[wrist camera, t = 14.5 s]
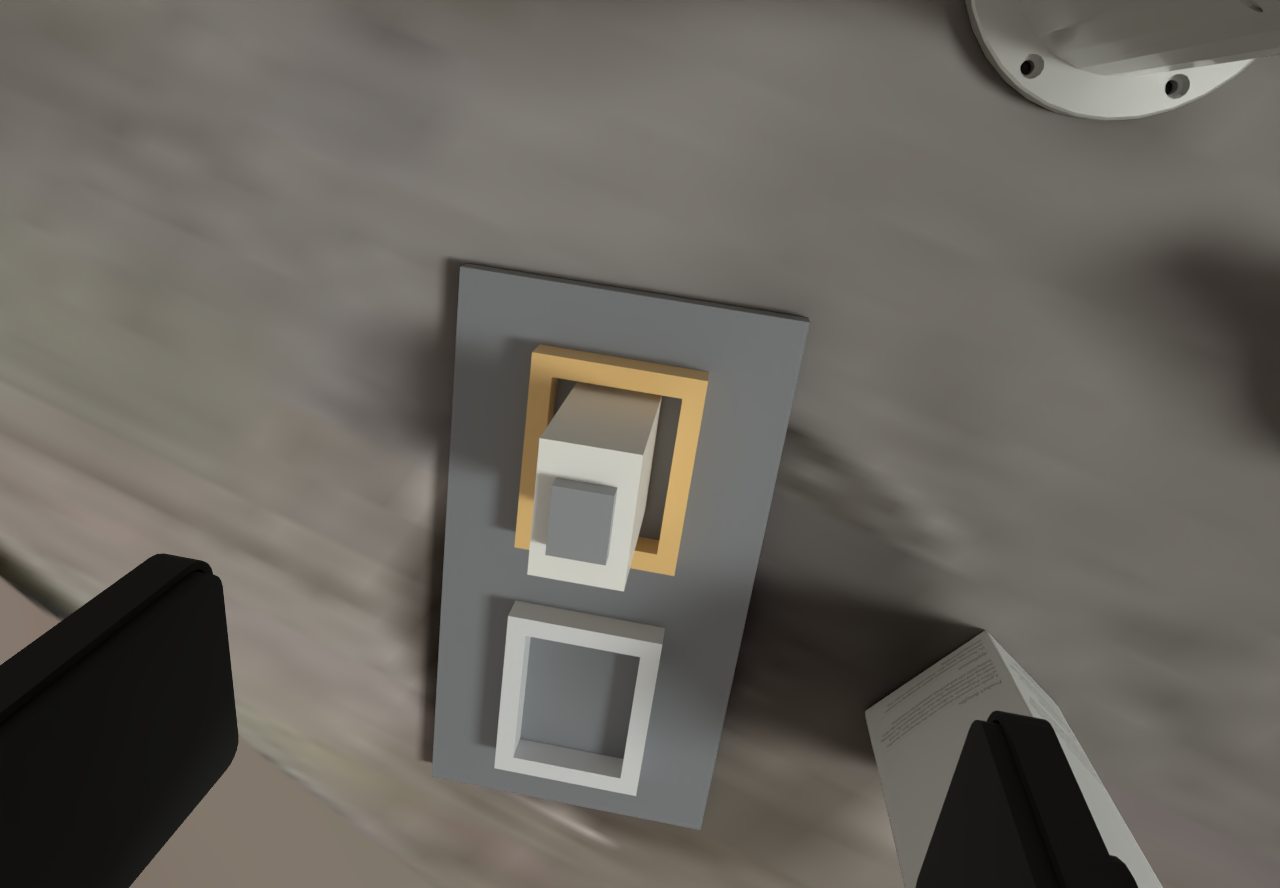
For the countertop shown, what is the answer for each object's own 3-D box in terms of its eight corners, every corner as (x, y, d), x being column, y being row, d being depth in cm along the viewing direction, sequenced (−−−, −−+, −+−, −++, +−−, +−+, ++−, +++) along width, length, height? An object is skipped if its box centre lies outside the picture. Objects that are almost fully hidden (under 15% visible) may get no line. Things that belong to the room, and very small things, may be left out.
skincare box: (932, 781, 46) (1020, 1082, 31) (855, 704, 44) (909, 979, 30) (1065, 702, 43) (1229, 991, 28) (987, 618, 42) (1116, 875, 27)
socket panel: (808, 317, 37) (812, 329, 35) (701, 816, 48) (699, 850, 46) (466, 263, 38) (449, 271, 36) (437, 764, 49) (422, 795, 47)
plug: (662, 393, 38) (640, 463, 30) (645, 507, 41) (621, 602, 32) (578, 379, 39) (534, 445, 31) (566, 494, 41) (522, 584, 33)
